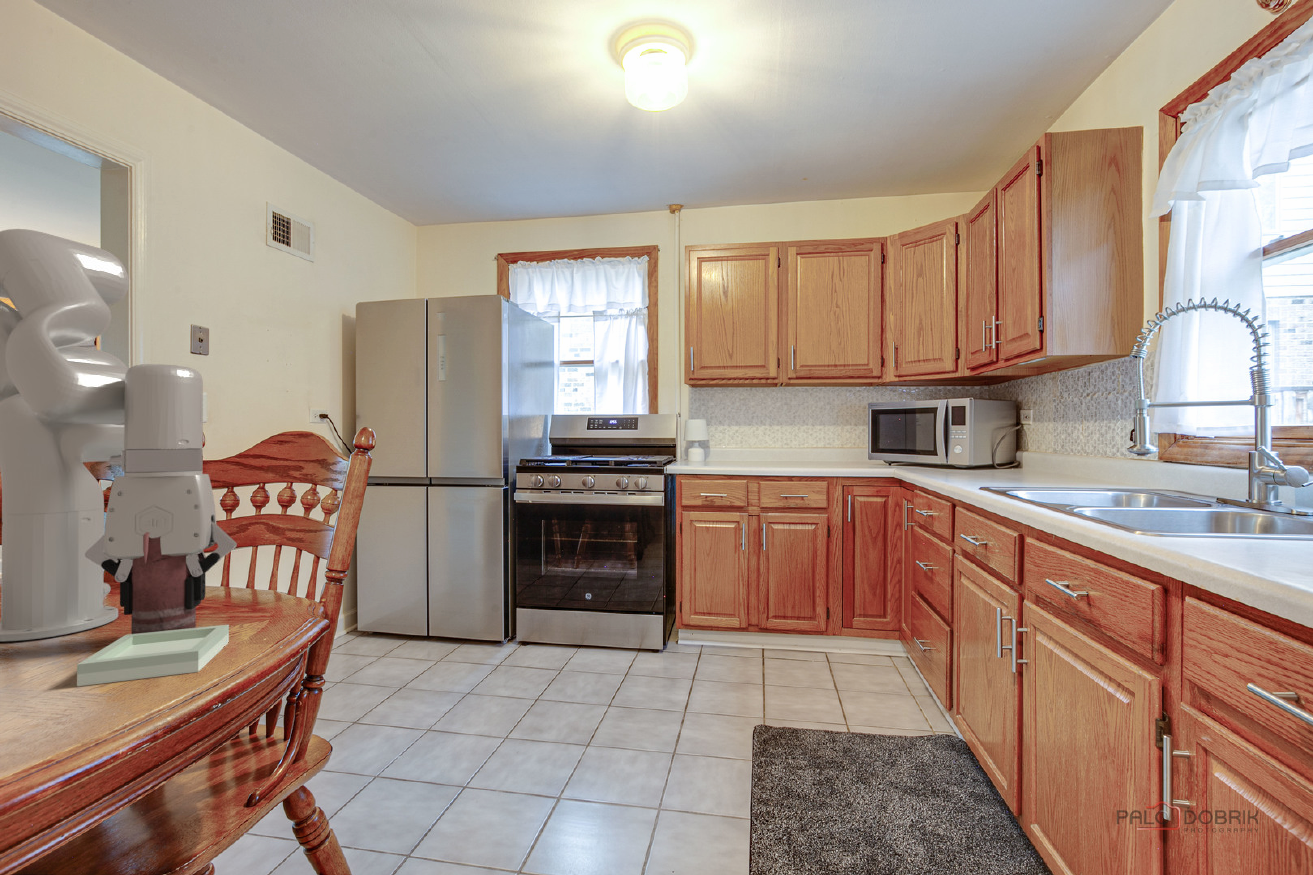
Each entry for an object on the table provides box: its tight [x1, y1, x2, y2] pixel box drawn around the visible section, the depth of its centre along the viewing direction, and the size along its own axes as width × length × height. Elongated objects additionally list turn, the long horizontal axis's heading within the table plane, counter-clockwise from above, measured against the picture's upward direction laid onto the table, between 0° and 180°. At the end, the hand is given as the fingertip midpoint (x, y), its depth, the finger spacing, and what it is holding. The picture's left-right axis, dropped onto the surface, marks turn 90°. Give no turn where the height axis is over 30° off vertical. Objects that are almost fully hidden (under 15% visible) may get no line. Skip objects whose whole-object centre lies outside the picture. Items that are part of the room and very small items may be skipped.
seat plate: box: [76, 624, 230, 687], centre depth 65 cm, size 10×10×2 cm
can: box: [130, 532, 197, 634], centre depth 73 cm, size 6×6×14 cm
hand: (163, 607), depth 73 cm, fingers open, 5 cm apart
